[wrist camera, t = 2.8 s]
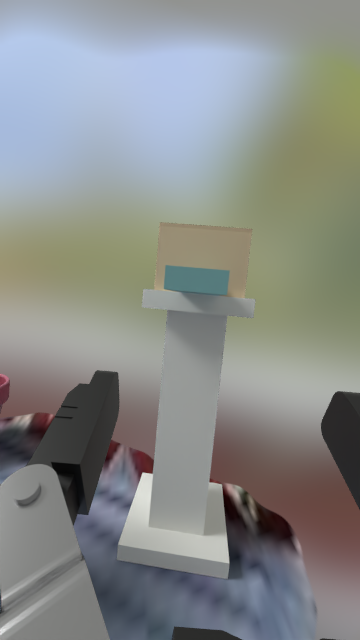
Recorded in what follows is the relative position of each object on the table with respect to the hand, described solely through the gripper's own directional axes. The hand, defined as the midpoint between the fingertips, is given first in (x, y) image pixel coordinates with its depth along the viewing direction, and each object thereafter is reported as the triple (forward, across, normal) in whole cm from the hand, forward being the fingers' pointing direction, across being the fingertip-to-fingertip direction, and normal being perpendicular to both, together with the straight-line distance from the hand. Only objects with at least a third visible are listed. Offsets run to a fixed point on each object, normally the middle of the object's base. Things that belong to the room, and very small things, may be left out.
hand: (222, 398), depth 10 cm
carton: (+19, 0, +3) cm, 19 cm away
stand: (+12, 0, +36) cm, 38 cm away
